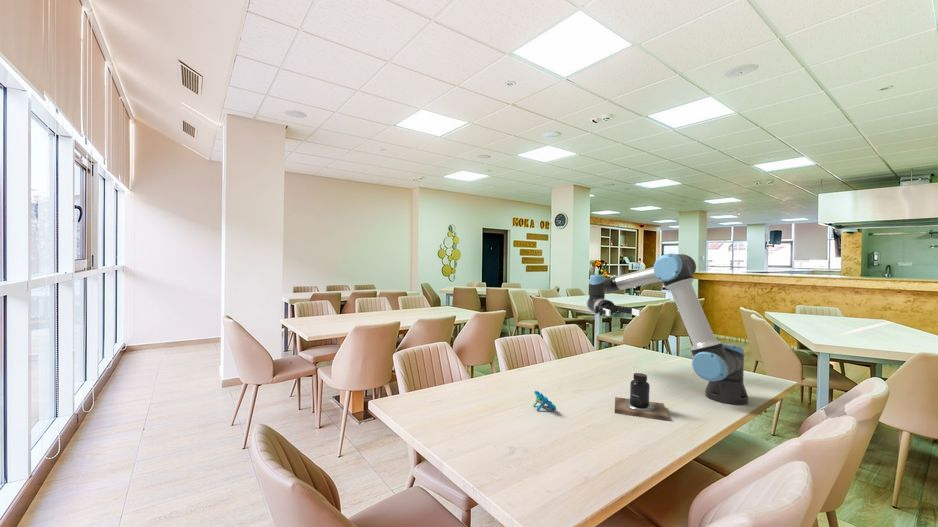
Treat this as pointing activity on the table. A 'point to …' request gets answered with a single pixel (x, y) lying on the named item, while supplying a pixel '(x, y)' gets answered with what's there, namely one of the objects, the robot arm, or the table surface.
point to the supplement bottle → (639, 391)
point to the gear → (543, 401)
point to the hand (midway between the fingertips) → (624, 313)
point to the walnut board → (641, 409)
